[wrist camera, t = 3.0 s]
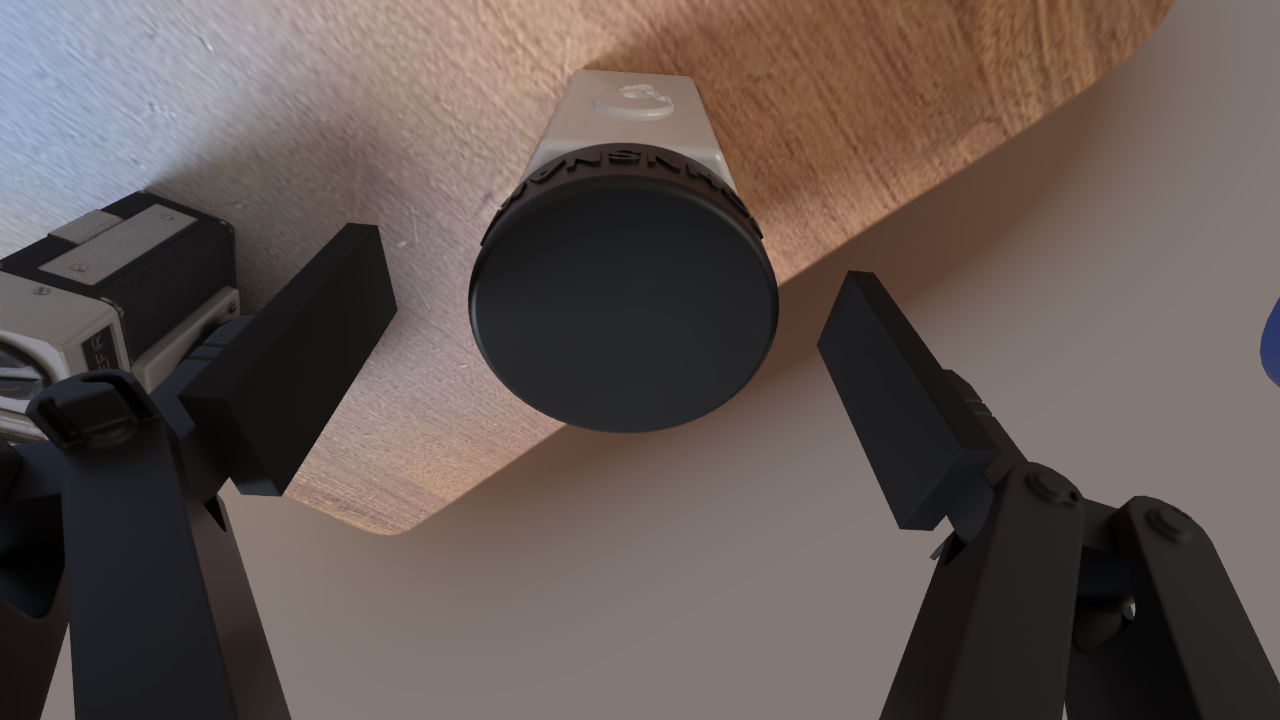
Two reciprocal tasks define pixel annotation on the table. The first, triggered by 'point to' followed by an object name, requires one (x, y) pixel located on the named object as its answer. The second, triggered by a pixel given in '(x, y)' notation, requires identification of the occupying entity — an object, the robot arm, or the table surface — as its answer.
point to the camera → (111, 300)
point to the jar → (624, 264)
